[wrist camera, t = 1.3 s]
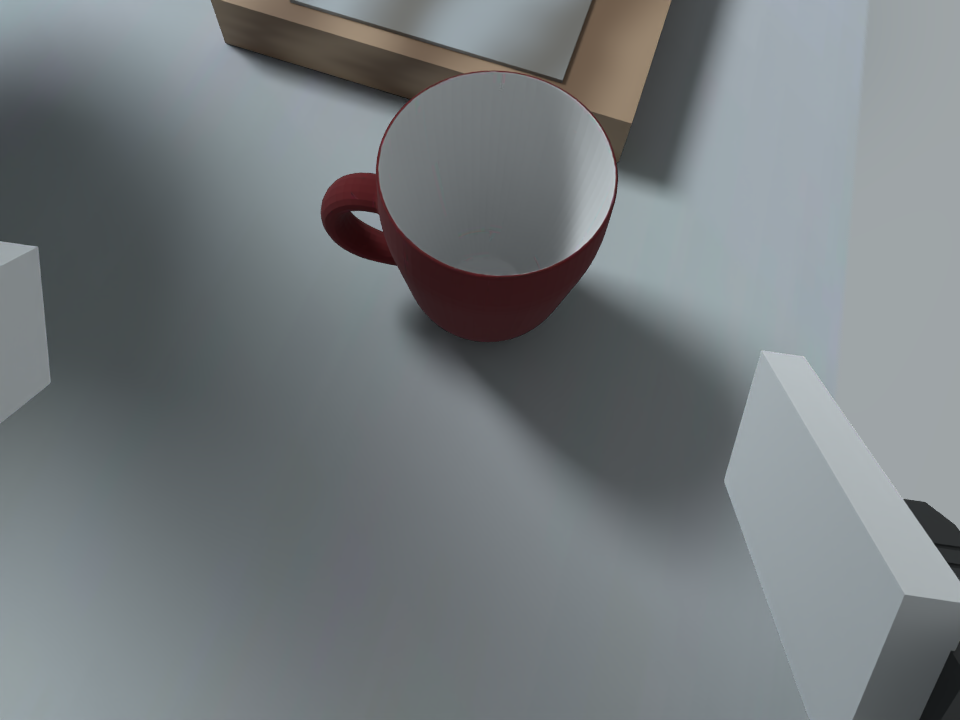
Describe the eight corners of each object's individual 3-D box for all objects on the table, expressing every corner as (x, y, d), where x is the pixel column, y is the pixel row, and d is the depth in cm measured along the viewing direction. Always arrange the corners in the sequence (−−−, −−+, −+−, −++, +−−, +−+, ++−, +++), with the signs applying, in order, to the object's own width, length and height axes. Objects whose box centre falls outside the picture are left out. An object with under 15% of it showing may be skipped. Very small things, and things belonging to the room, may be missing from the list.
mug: (325, 373, 36) (283, 266, 26) (345, 206, 39) (313, 56, 29) (574, 388, 36) (620, 286, 27) (576, 221, 39) (618, 76, 29)
